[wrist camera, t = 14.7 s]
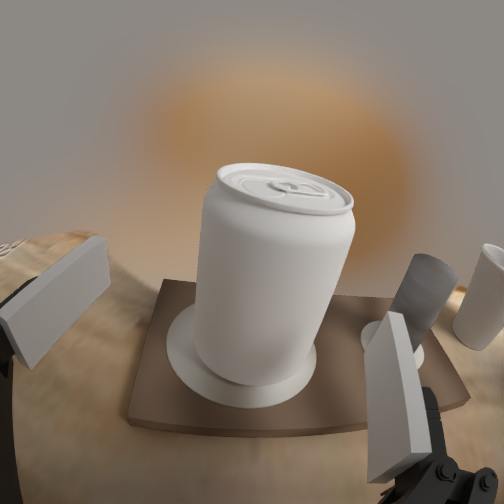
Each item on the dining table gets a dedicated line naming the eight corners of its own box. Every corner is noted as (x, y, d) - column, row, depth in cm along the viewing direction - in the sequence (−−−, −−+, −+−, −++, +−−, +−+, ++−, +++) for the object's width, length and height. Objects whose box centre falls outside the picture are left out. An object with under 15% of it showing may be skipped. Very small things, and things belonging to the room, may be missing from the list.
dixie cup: (466, 308, 31) (499, 243, 26) (502, 349, 24) (545, 282, 20) (431, 316, 29) (470, 240, 24) (472, 366, 22) (525, 287, 17)
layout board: (406, 307, 30) (440, 235, 25) (463, 405, 18) (527, 325, 13) (163, 289, 27) (165, 193, 22) (130, 425, 15) (97, 317, 10)
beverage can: (185, 312, 23) (196, 157, 17) (280, 305, 25) (315, 167, 19) (206, 400, 16) (228, 210, 10) (322, 378, 19) (394, 218, 13)
